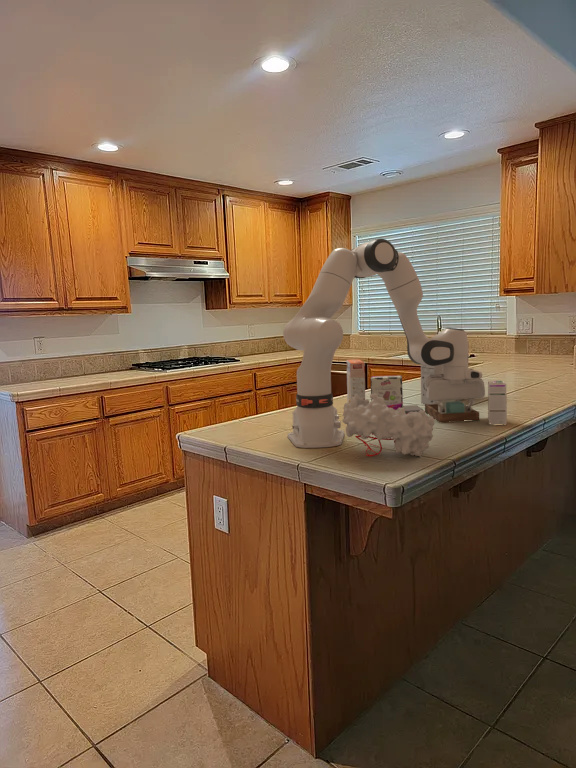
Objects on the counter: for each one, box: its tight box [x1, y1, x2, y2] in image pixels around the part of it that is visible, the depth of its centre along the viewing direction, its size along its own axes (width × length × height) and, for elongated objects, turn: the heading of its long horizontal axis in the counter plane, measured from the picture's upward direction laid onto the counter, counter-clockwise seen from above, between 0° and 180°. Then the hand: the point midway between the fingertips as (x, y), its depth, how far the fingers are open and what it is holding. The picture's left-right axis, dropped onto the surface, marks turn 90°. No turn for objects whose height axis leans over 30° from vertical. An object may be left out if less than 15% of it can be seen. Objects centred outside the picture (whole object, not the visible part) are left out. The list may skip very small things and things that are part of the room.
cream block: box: [438, 400, 456, 414], centre depth 197 cm, size 5×5×6 cm
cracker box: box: [346, 358, 366, 404], centre depth 204 cm, size 14×6×21 cm, turn 179°
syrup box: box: [487, 380, 508, 424], centre depth 177 cm, size 6×6×14 cm
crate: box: [424, 404, 480, 423], centre depth 192 cm, size 19×14×3 cm
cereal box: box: [420, 354, 469, 405], centre depth 220 cm, size 22×8×25 cm, turn 124°
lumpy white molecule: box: [342, 393, 435, 457], centre depth 146 cm, size 20×18×25 cm
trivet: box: [403, 404, 425, 414], centre depth 201 cm, size 10×10×2 cm
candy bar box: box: [370, 375, 404, 410], centre depth 188 cm, size 11×5×16 cm, turn 76°
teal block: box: [446, 400, 466, 413], centre depth 187 cm, size 5×5×6 cm
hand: (455, 411), depth 187 cm, fingers open, 8 cm apart
